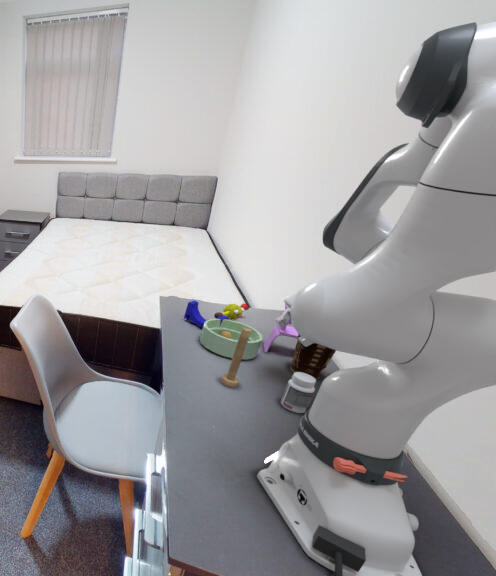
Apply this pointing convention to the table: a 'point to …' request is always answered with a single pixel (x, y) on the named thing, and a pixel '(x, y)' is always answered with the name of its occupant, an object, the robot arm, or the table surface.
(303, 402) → the pill bottle
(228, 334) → the ball
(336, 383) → the robot arm
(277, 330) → the toy chair
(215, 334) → the bowl
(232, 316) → the toy figure
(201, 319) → the blue curved piece
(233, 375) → the stirring stick
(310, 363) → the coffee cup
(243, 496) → the table surface
